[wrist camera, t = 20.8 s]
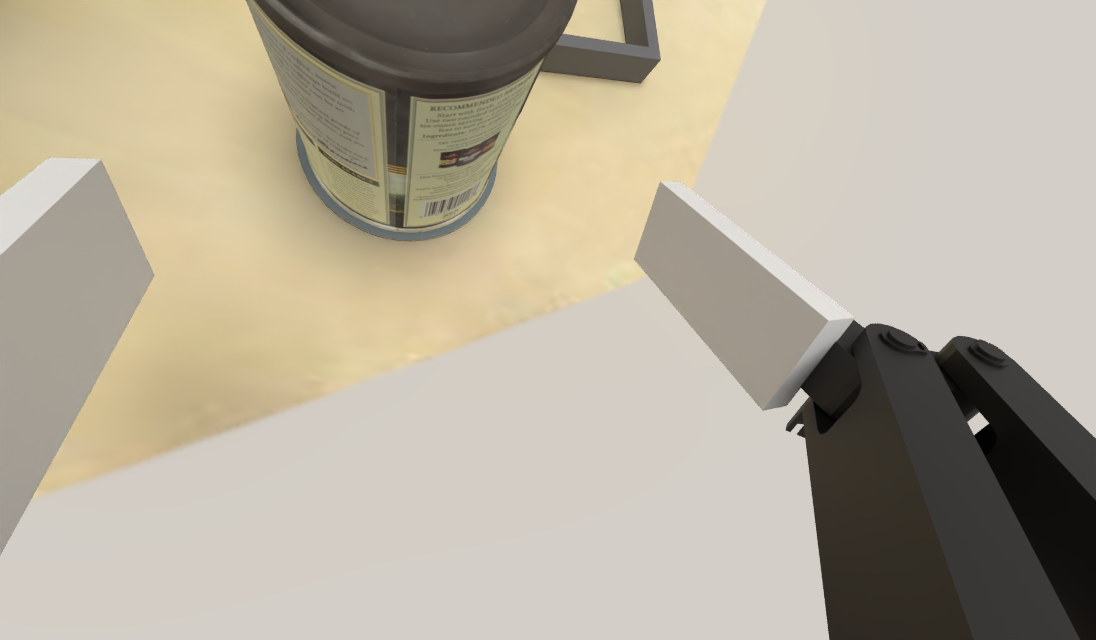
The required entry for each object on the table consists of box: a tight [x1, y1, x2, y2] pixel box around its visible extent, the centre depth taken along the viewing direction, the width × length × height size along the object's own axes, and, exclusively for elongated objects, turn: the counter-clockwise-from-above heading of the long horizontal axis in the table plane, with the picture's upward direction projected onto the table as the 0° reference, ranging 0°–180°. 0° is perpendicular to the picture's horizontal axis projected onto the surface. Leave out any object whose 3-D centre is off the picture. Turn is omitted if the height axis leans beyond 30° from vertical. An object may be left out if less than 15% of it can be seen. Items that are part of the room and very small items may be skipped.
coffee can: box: [246, 0, 577, 233], centre depth 19 cm, size 10×10×14 cm
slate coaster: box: [296, 128, 497, 241], centre depth 26 cm, size 11×11×1 cm
